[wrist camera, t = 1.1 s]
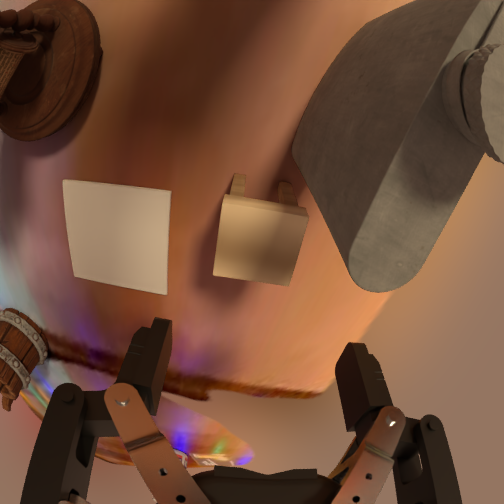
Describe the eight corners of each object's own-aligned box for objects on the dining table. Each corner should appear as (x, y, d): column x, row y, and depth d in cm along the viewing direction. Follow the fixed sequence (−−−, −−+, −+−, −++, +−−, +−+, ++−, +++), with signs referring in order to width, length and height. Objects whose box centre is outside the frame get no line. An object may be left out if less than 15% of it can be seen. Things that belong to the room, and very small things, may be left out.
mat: (64, 179, 26) (62, 180, 25) (171, 190, 27) (170, 192, 26) (75, 274, 32) (74, 276, 31) (167, 293, 33) (166, 295, 32)
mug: (46, 319, 36) (7, 404, 24) (61, 359, 45) (35, 427, 33) (-7, 291, 34) (-48, 364, 22) (14, 335, 43) (-15, 397, 31)
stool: (231, 169, 26) (222, 202, 19) (294, 180, 26) (309, 217, 19) (223, 226, 28) (212, 275, 22) (281, 235, 29) (289, 286, 22)
